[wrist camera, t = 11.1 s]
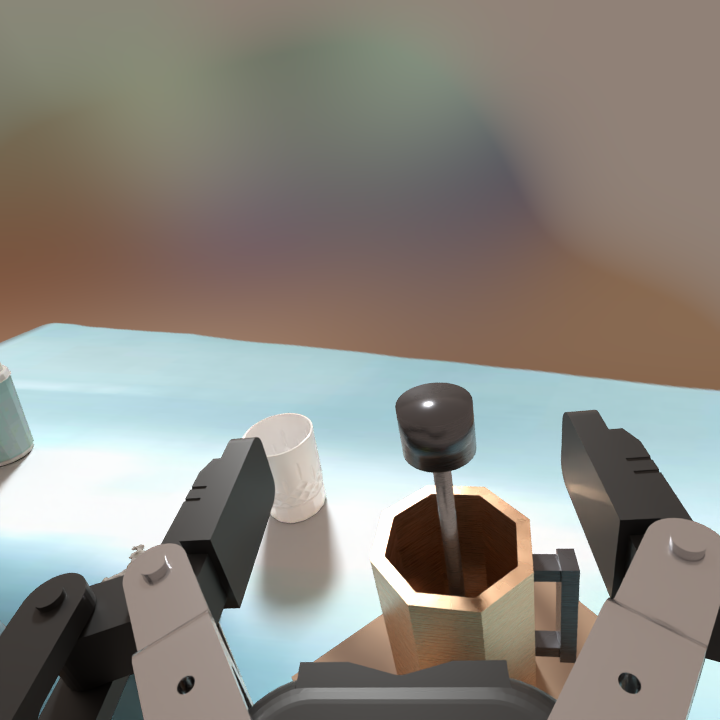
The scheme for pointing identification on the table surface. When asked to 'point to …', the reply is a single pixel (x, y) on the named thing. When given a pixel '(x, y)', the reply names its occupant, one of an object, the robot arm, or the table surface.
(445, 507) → the plunger
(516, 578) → the press beaker
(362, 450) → the table surface
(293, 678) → the walnut board
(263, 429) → the white cup
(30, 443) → the disposable coffee cup
